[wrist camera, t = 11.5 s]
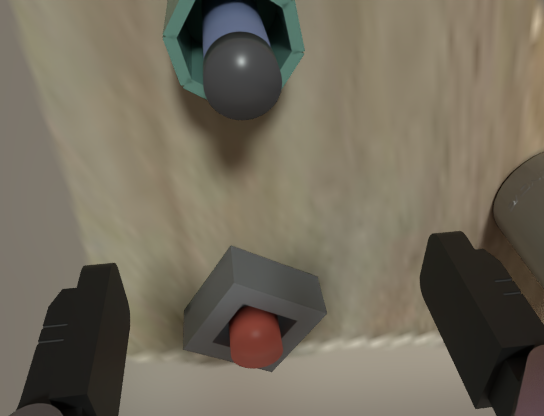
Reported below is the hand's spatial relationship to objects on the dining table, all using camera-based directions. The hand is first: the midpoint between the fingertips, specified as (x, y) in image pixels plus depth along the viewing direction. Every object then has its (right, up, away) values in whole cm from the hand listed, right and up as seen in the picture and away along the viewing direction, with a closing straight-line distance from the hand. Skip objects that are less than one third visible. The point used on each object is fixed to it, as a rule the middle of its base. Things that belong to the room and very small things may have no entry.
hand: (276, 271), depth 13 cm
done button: (-2, -8, +27) cm, 29 cm away
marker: (-2, +13, +15) cm, 19 cm away
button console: (-2, -6, +30) cm, 30 cm away
